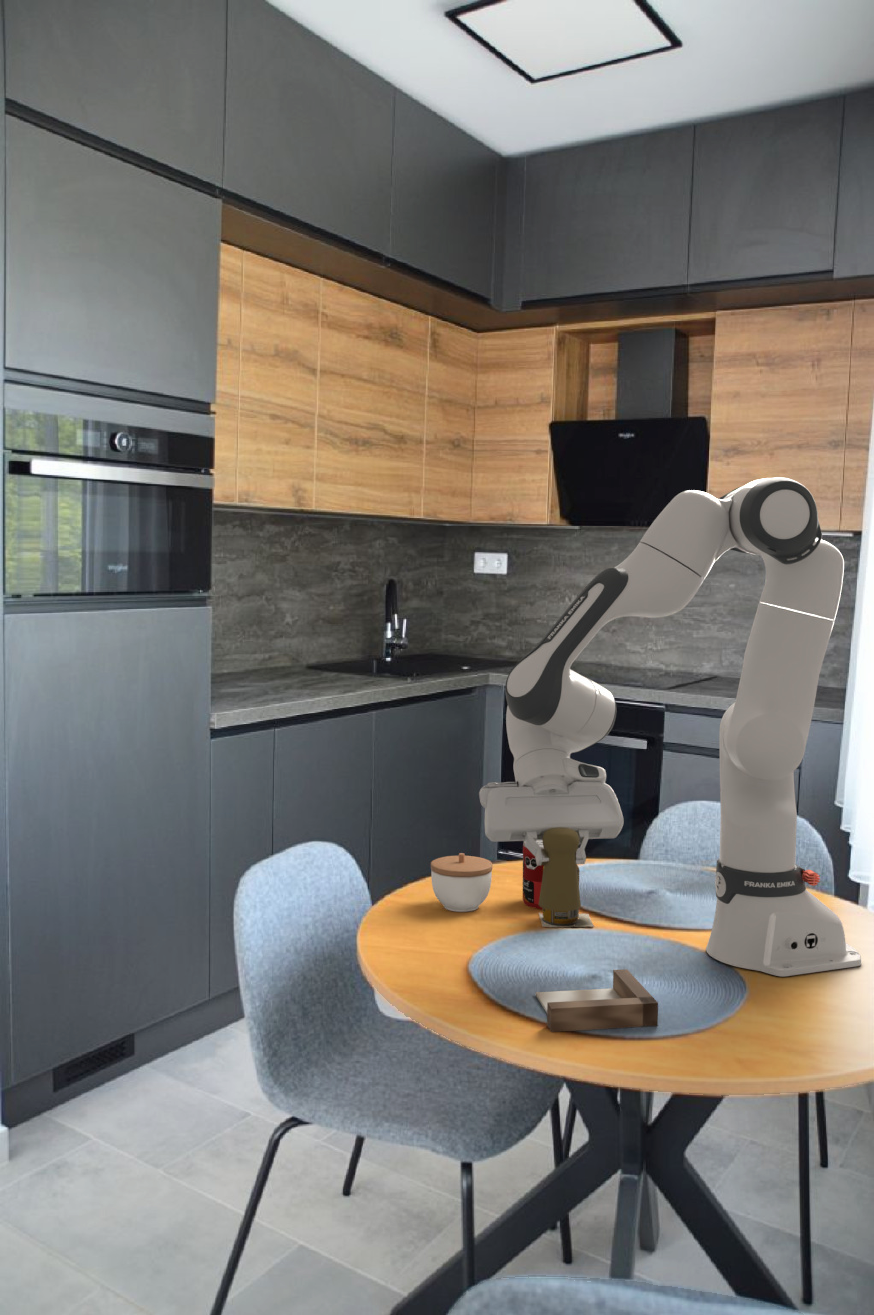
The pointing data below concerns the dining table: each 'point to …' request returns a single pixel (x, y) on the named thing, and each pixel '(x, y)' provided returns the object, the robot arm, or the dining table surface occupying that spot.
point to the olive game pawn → (560, 871)
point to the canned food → (532, 877)
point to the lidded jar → (461, 881)
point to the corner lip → (601, 1006)
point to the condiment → (565, 917)
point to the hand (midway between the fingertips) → (561, 863)
